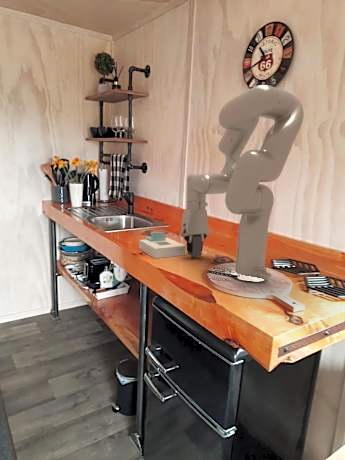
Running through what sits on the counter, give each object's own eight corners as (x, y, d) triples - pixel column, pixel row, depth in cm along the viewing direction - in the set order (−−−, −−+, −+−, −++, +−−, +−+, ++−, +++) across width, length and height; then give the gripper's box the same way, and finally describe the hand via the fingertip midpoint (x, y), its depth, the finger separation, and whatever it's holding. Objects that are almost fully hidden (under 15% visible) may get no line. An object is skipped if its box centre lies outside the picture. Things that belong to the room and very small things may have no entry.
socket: (185, 255, 134) (185, 245, 133) (155, 258, 127) (155, 248, 127) (167, 246, 148) (167, 237, 147) (139, 248, 141) (139, 240, 140)
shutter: (165, 240, 141) (165, 232, 141) (151, 241, 138) (151, 233, 137) (158, 236, 147) (158, 229, 147) (144, 237, 144) (144, 230, 143)
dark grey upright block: (201, 255, 129) (201, 236, 128) (192, 256, 127) (193, 236, 126) (195, 253, 133) (196, 234, 131) (187, 254, 131) (188, 235, 129)
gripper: (207, 204, 134) (206, 247, 137) (172, 205, 126) (171, 251, 129) (218, 206, 127) (216, 251, 130) (182, 207, 120) (181, 255, 123)
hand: (194, 250), depth 130 cm, fingers closed on dark grey upright block, 4 cm apart
